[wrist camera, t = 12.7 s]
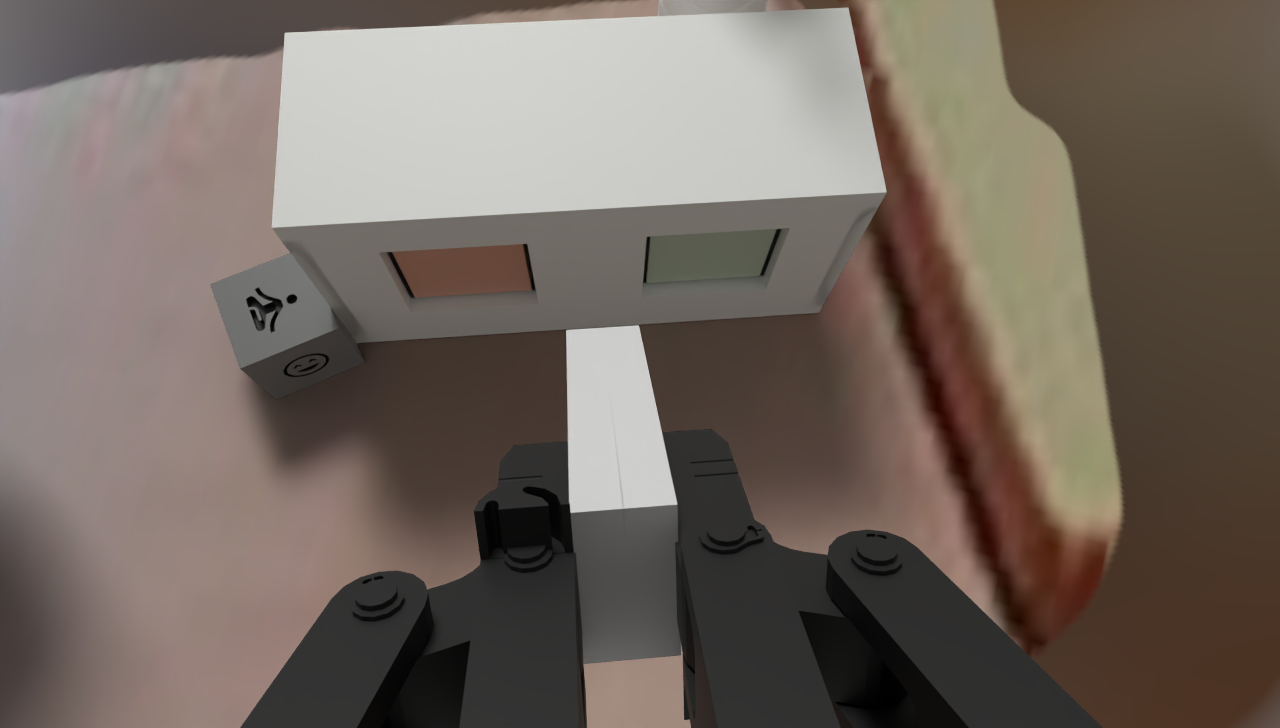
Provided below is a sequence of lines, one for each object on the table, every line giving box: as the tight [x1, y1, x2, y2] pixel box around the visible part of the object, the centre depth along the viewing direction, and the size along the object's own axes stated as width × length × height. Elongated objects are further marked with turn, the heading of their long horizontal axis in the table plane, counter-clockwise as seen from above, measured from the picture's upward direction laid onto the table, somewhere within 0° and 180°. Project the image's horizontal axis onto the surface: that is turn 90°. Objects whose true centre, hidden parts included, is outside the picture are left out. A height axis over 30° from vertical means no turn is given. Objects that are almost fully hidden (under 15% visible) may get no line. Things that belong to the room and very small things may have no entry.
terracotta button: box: [392, 244, 532, 298], centre depth 44 cm, size 6×7×6 cm
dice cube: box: [210, 253, 365, 400], centre depth 46 cm, size 5×5×5 cm
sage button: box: [645, 229, 777, 283], centre depth 44 cm, size 6×7×6 cm
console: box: [272, 8, 887, 343], centre depth 45 cm, size 26×10×13 cm, turn 95°
